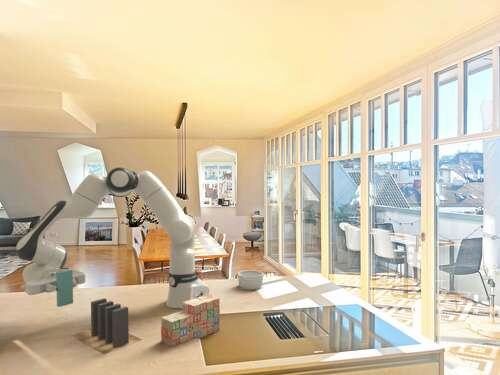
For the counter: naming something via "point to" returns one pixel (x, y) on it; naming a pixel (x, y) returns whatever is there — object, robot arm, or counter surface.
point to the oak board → (101, 341)
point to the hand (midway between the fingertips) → (65, 286)
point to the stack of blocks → (191, 320)
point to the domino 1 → (64, 287)
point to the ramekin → (250, 279)
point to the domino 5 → (120, 327)
